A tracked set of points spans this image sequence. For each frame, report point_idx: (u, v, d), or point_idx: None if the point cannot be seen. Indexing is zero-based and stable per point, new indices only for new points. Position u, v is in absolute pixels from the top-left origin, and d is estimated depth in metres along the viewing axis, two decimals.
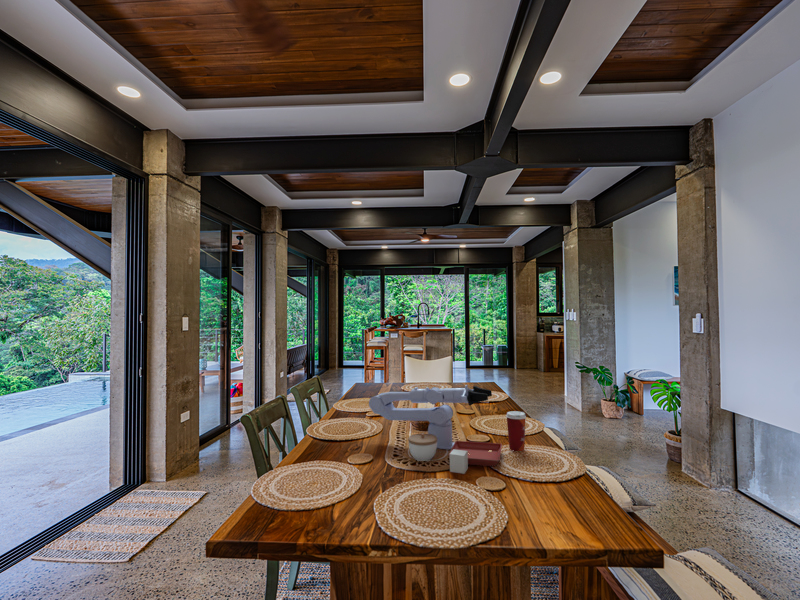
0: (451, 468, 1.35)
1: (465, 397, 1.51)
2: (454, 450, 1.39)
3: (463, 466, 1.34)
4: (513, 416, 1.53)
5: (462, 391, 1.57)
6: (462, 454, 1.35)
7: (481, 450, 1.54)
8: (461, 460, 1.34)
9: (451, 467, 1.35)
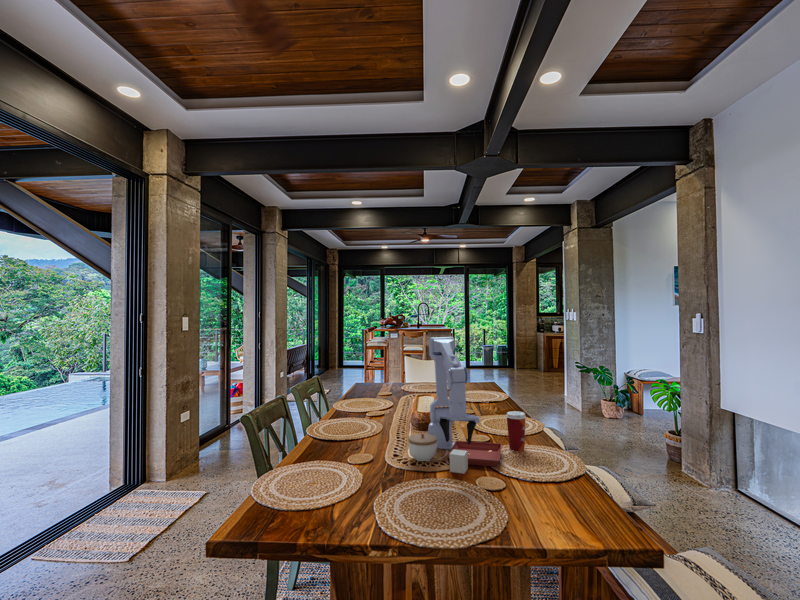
0: (451, 468, 1.35)
1: (437, 418, 1.40)
2: (454, 450, 1.39)
3: (463, 466, 1.34)
4: (513, 416, 1.53)
5: (450, 413, 1.36)
6: (462, 454, 1.35)
7: (481, 450, 1.54)
8: (461, 460, 1.34)
9: (451, 467, 1.35)
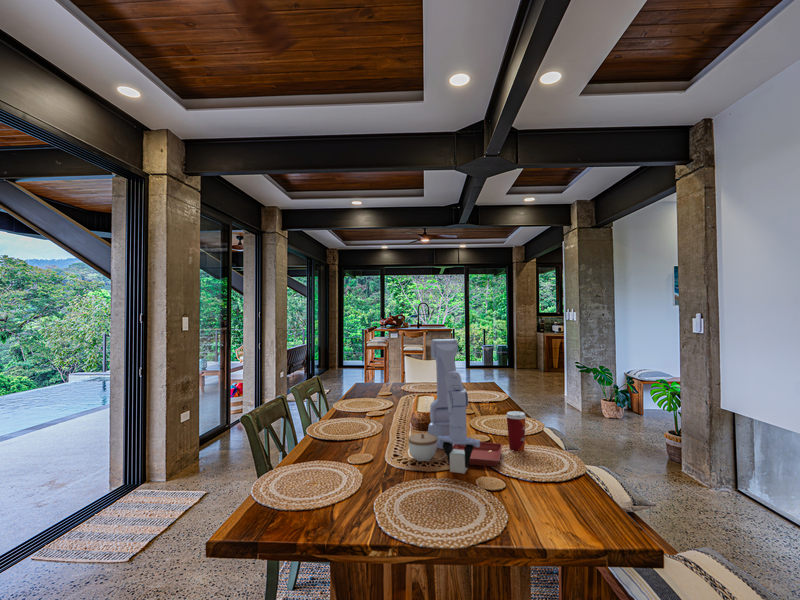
0: (451, 468, 1.35)
1: None
2: (454, 450, 1.39)
3: (463, 466, 1.34)
4: (513, 416, 1.53)
5: (450, 437, 1.36)
6: (462, 454, 1.35)
7: (481, 450, 1.54)
8: (461, 460, 1.34)
9: (451, 467, 1.35)
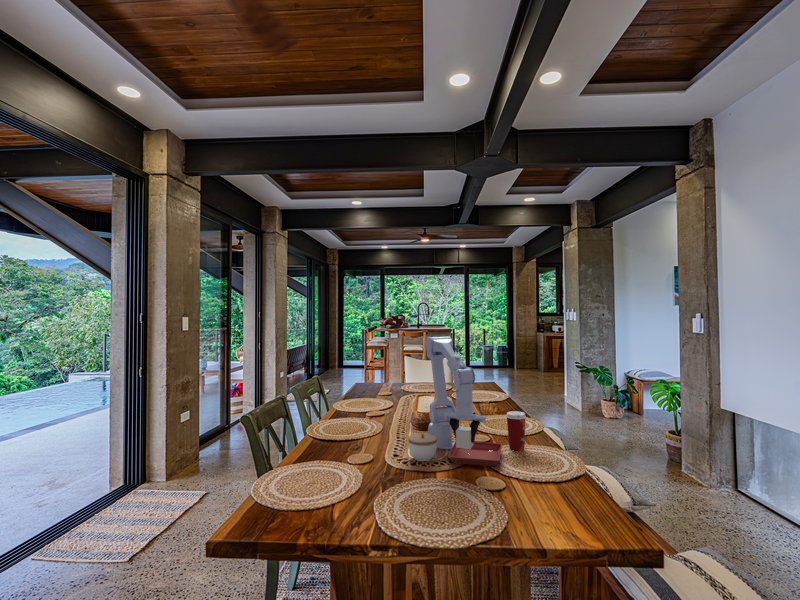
0: (457, 444, 1.40)
1: None
2: (460, 427, 1.43)
3: (469, 442, 1.38)
4: (513, 416, 1.53)
5: (457, 413, 1.41)
6: (468, 430, 1.39)
7: (481, 450, 1.54)
8: (467, 436, 1.38)
9: (457, 443, 1.40)
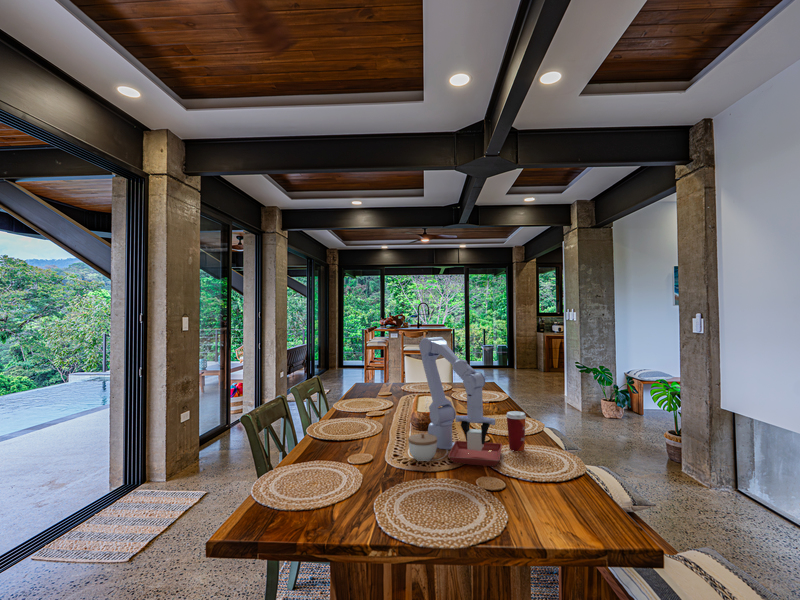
0: (468, 446, 1.46)
1: None
2: (471, 429, 1.50)
3: (480, 444, 1.45)
4: (513, 416, 1.53)
5: (468, 416, 1.48)
6: (478, 433, 1.46)
7: (481, 450, 1.54)
8: (478, 438, 1.45)
9: (468, 445, 1.46)
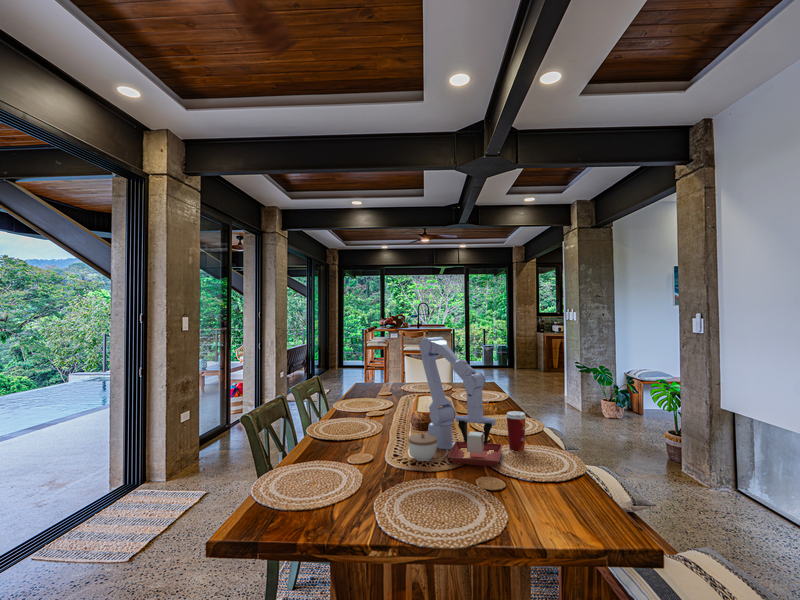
0: (468, 448, 1.46)
1: None
2: (471, 432, 1.50)
3: (480, 446, 1.45)
4: (513, 416, 1.53)
5: (468, 416, 1.48)
6: (479, 435, 1.46)
7: None
8: (478, 441, 1.45)
9: (468, 447, 1.46)
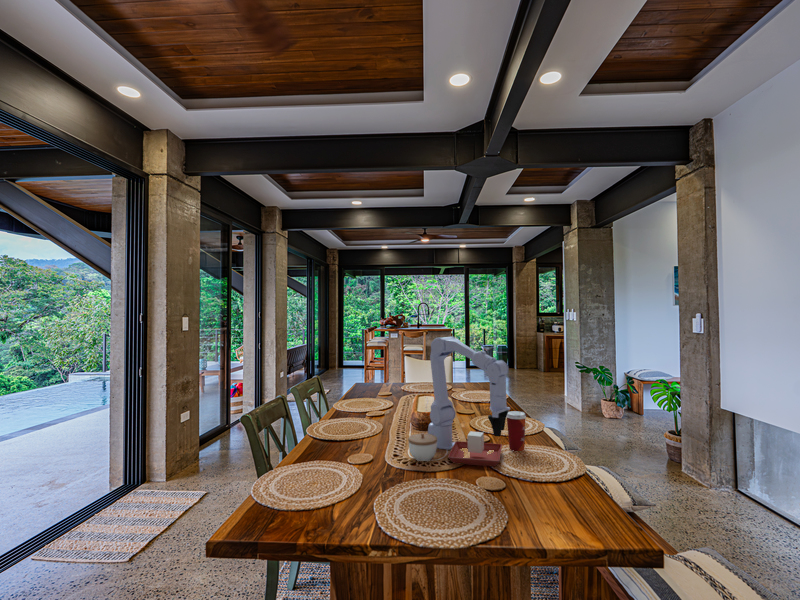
0: (469, 448, 1.46)
1: (497, 416, 1.36)
2: (471, 432, 1.50)
3: (480, 446, 1.45)
4: (513, 416, 1.53)
5: (502, 406, 1.41)
6: (479, 435, 1.46)
7: None
8: (478, 440, 1.45)
9: (469, 447, 1.46)
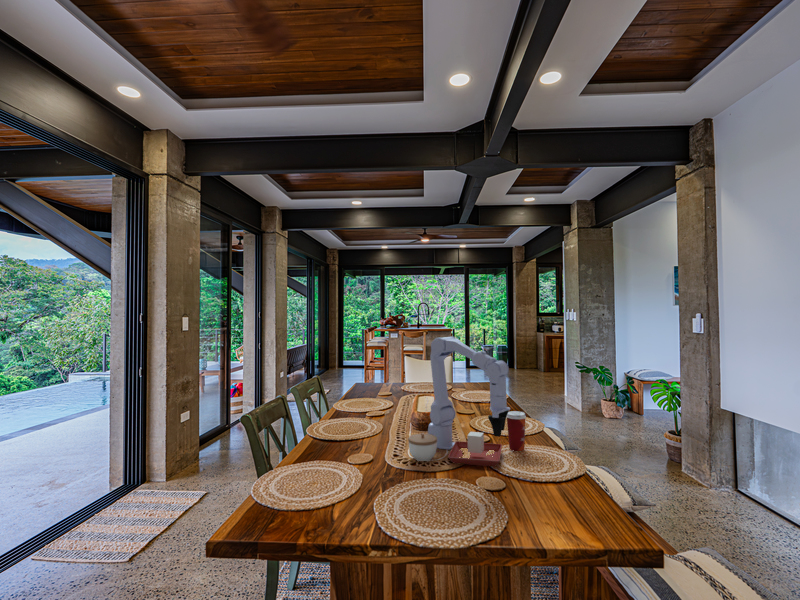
0: (469, 448, 1.46)
1: (497, 416, 1.36)
2: (471, 432, 1.50)
3: (480, 446, 1.45)
4: (513, 416, 1.53)
5: (503, 406, 1.41)
6: (479, 435, 1.46)
7: None
8: (478, 441, 1.45)
9: (469, 447, 1.46)
